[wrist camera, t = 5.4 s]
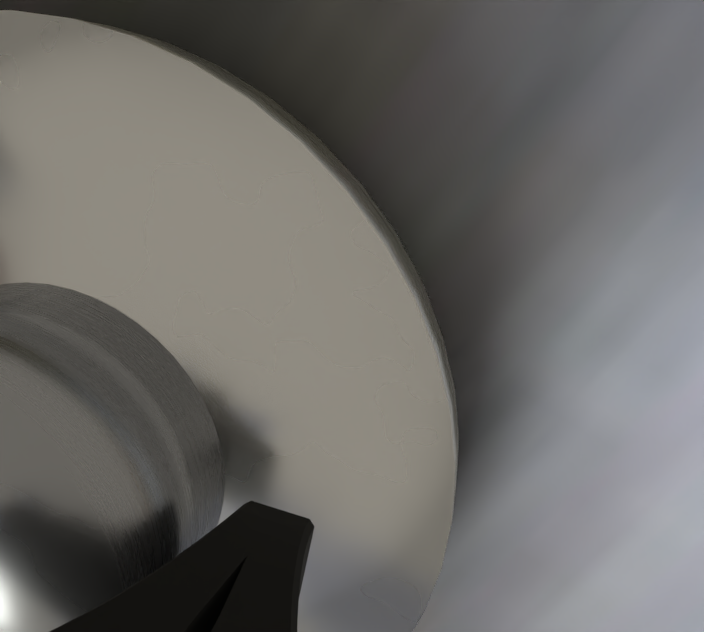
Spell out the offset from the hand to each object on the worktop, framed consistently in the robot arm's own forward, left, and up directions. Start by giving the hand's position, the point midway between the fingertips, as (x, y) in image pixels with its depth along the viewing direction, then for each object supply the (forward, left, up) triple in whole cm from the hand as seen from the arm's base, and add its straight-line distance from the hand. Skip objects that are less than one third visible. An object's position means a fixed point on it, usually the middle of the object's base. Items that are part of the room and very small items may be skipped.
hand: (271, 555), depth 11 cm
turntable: (+5, 0, -2) cm, 5 cm away
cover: (+5, 0, -1) cm, 5 cm away
